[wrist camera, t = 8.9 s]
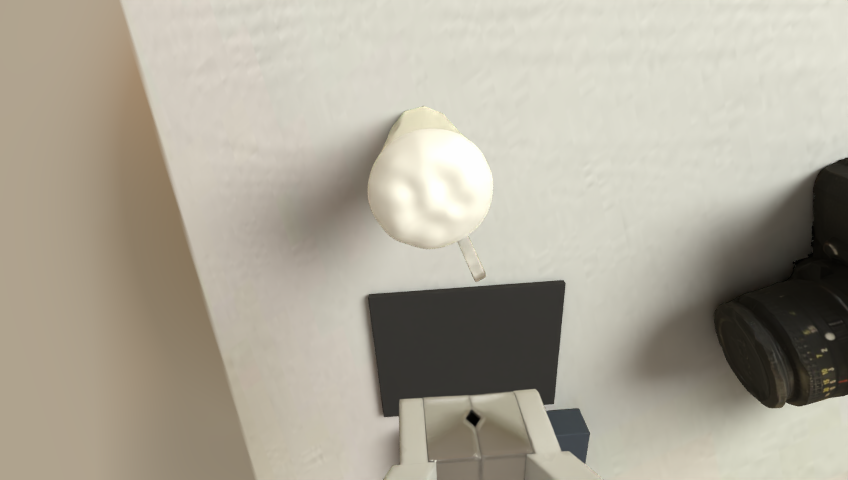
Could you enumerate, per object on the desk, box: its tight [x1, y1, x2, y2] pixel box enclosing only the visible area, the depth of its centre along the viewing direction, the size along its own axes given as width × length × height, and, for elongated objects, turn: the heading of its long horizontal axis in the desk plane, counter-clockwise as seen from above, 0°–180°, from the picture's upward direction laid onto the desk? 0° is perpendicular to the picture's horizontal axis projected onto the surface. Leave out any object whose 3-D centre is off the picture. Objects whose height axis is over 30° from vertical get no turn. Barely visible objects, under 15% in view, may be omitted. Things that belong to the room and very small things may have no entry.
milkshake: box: [368, 106, 493, 282], centre depth 20 cm, size 4×5×10 cm
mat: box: [368, 280, 565, 417], centre depth 30 cm, size 12×10×1 cm
